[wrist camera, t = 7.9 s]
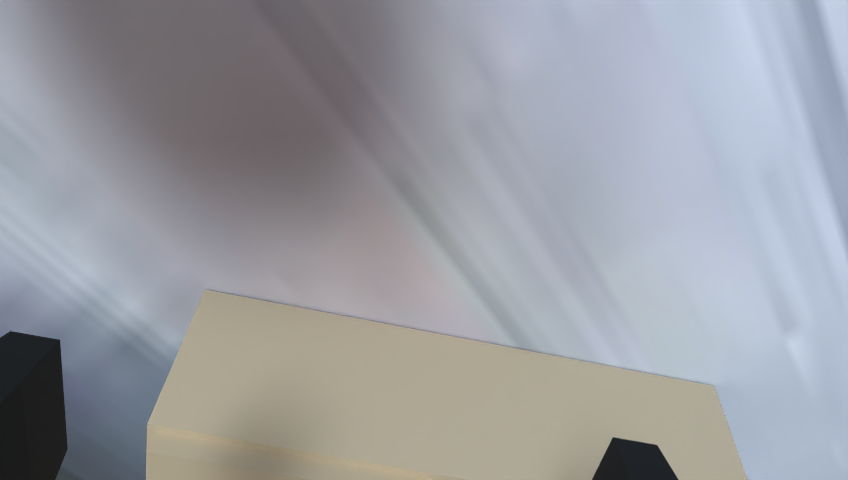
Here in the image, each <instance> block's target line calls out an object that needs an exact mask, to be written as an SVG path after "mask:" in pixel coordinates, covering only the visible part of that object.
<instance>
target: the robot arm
mask: <svg viewBox="0 0 848 480" xmlns="http://www.w3.org/2000/svg"><path fill="white" fill-rule="evenodd" d="M66 451H67V435H66V420H65V406H64V392H63V377H62V363H61V349H60V340H57V339H52V338H46V337H40V336H35V335H29V334H23V333H18V332H12V331H10V332H9V333H7V334H5V335H4V336H2V337H1V338H0V480H55V479H56V476H57V474H58V471H59V469H60V466H61V464H62V461H63V459H64V456H65V454H66ZM592 480H678V478H677V476H676V475H675V473H674V471H673V470H672V468H671V466H670V465H669V463H668V462H667V460H666V458H665V457H664V455H663V453H662V452H661V450H660V449H659V447H658V445H655V444H649V443H644V442H638V441H632V440H627V439H621V438H615V437H613V438H612V440H611V442H610V444H609V446H608V448H607V450H606V452H605V454H604V456H603V458H602V460H601V462H600V464H599V466H598V468H597V470H596V472H595V474H594V476H593V479H592Z"/></svg>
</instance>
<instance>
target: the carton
mask: <svg viewBox="0 0 848 480" xmlns="http://www.w3.org/2000/svg"><path fill="white" fill-rule="evenodd" d="M613 437H615V438H621V439H627V440H632V441H638V442H644V443H649V444H655V445H658V447H659V449H660V450H661V452H662V453H663V455H664V457H665V458H666V460H667V462H668V463H669V465H670V466H671V468H672V470H673V471H674V473H675V475H676V476H677V478H678V480H748V479H747V476H746V474H745V471H744V468H743V465H742V462H741V460H740V457H739V454H738V451H737V448H736V446H735V443H734V440H733V437H732V434H731V432H730V429H729V426H728V423H727V420H726V418H725V415H724V412H723V409H722V406H721V404H720V401H719V398H718V395H717V392H716V390H715V387H714V386H712V385H707V384H701V383H696V382H691V381H686V380H680V379H675V378H670V377H664V376H659V375H654V374H649V373H643V372H638V371H633V370H627V369H622V368H617V367H612V366H606V365H601V364H596V363H590V362H585V361H580V360H575V359H569V358H564V357H559V356H553V355H548V354H543V353H538V352H532V351H527V350H522V349H516V348H511V347H506V346H501V345H495V344H490V343H485V342H479V341H474V340H469V339H464V338H458V337H453V336H448V335H442V334H437V333H432V332H427V331H421V330H416V329H411V328H405V327H400V326H395V325H390V324H384V323H379V322H374V321H368V320H363V319H358V318H353V317H347V316H342V315H337V314H331V313H326V312H321V311H316V310H310V309H305V308H300V307H294V306H289V305H284V304H279V303H273V302H268V301H263V300H258V299H252V298H247V297H242V296H236V295H231V294H226V293H221V292H215V291H210V290H205V291H204V294H203V296H202V298H201V301H200V303H199V305H198V308H197V310H196V312H195V315H194V317H193V319H192V321H191V324H190V326H189V328H188V331H187V333H186V335H185V338H184V340H183V342H182V345H181V347H180V349H179V352H178V354H177V356H176V359H175V361H174V363H173V366H172V368H171V370H170V373H169V375H168V377H167V380H166V382H165V384H164V386H163V389H162V391H161V393H160V396H159V398H158V400H157V403H156V405H155V407H154V410H153V412H152V414H151V417H150V419H149V421H148V424H147V460H146V480H592V479H593V476H594V474H595V472H596V470H597V468H598V466H599V464H600V462H601V460H602V458H603V456H604V454H605V452H606V450H607V448H608V446H609V444H610V442H611V440H612V438H613Z"/></svg>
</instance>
